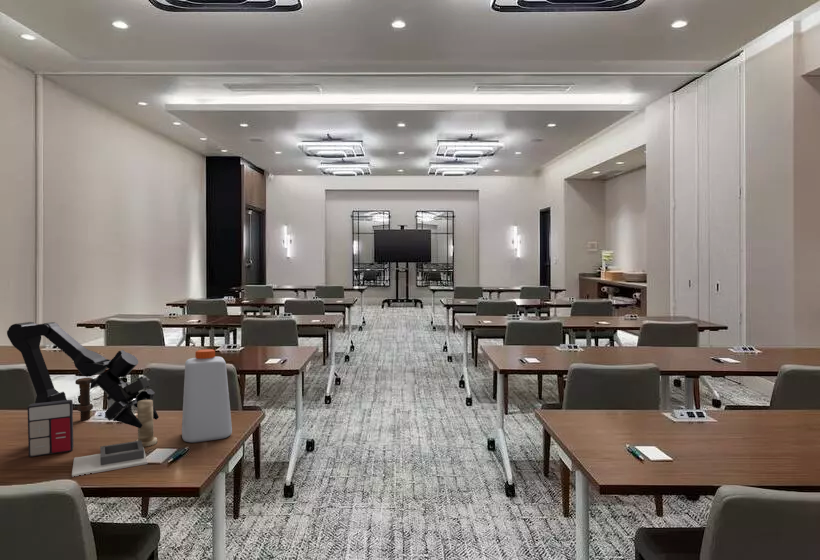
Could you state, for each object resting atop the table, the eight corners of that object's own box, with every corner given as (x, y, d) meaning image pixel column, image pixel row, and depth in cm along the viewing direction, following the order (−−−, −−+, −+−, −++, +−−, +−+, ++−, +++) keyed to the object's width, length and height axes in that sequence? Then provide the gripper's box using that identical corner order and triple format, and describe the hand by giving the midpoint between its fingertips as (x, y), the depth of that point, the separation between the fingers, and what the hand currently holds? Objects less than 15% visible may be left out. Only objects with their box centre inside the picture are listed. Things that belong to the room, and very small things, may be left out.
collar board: (71, 477, 142) (71, 466, 142) (74, 459, 155) (73, 450, 155) (147, 463, 151) (147, 454, 151) (143, 448, 164) (143, 439, 164)
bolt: (85, 422, 194) (84, 380, 194) (73, 421, 195) (72, 380, 195) (97, 417, 200) (96, 377, 200) (85, 417, 201) (84, 377, 201)
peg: (135, 448, 165) (134, 404, 164) (133, 442, 170) (133, 400, 170) (158, 444, 168) (157, 402, 168) (156, 439, 173) (155, 397, 173)
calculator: (28, 458, 157) (26, 407, 157) (30, 453, 161) (29, 403, 161) (72, 451, 162) (71, 402, 162) (73, 447, 166) (72, 399, 166)
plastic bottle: (182, 445, 167) (180, 355, 167) (181, 432, 181) (179, 349, 180) (233, 438, 173) (231, 351, 173) (228, 426, 187) (227, 345, 187)
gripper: (113, 375, 159) (150, 412, 159) (148, 364, 178) (181, 397, 178) (88, 401, 160) (125, 438, 160) (126, 387, 179) (159, 421, 178)
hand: (149, 422), depth 169 cm, fingers open, 9 cm apart
